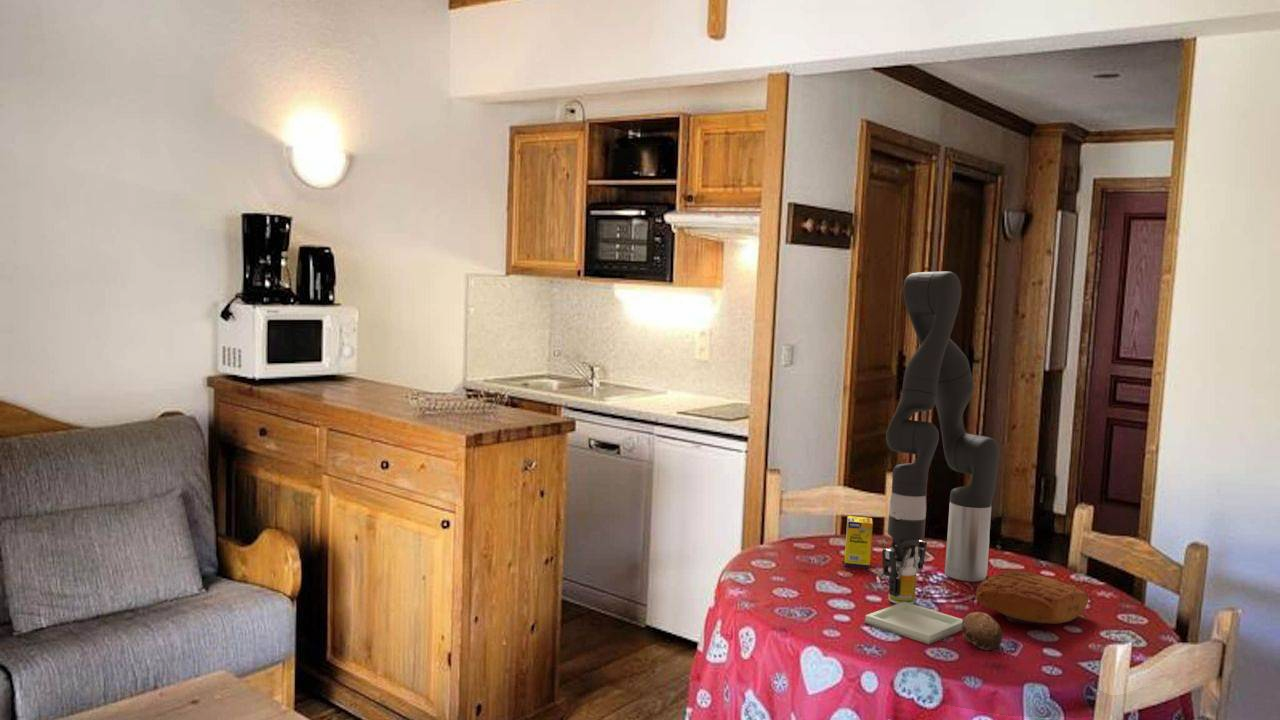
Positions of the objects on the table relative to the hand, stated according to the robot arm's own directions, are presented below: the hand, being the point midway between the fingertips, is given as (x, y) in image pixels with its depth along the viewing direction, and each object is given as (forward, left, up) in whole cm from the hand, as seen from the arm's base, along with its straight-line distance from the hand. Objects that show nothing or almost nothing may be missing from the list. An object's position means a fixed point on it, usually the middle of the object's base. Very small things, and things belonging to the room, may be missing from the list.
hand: (901, 592), depth 208 cm
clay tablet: (-13, +22, -2) cm, 26 cm away
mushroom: (+10, +23, -2) cm, 26 cm away
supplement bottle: (0, 0, -2) cm, 2 cm away
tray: (+11, +10, -2) cm, 15 cm away
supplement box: (-16, -22, -2) cm, 27 cm away
